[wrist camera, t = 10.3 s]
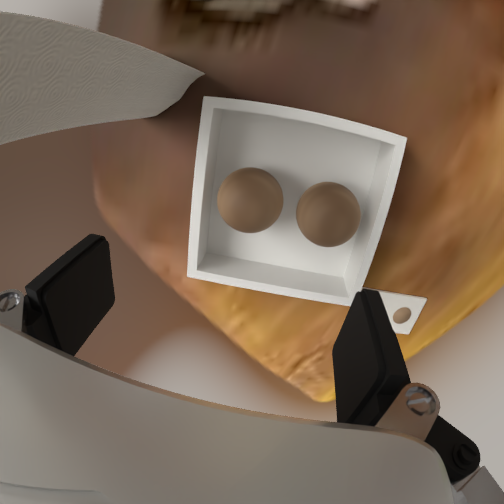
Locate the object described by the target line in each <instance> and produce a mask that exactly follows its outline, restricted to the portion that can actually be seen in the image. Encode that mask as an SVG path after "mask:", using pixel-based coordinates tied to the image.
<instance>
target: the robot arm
mask: <svg viewBox="0 0 504 504" xmlns="http://www.w3.org/2000/svg"><path fill="white" fill-rule="evenodd" d="M25 289H26V292H27V295H25V296H24V295H23V294H22V292H20V291H19V290H15V289H10V290H6V291H3V292H1V293H0V504H504V492H503V491H502V489H501V488H500V487H499V485H498V484H497V482H496V481H495V480H494V478H493V477H492V476H491V474H490V473H489V472H488V470H487V469H486V467H485V466H482V467H481V468H480V466H479V462H480V453H479V449H478V447H477V446H476V444H475V443H474V442H473V441H472V440H470V439H469V438H468V437H467V436H465V435H464V434H463V433H461V432H460V431H459V430H457V429H456V428H455V427H453V426H452V425H451V424H449V423H448V422H447V421H445V420H444V419H443V418H441V417H440V416H439V415H438V413H439V409H440V402H439V399H438V397H437V395H436V394H435V392H434V391H433V390H432V389H430V388H429V387H428V386H426V385H424V384H420V383H411V381H410V378H409V374H408V371H407V368H406V365H405V361H404V358H403V355H402V352H401V349H400V346H399V343H398V340H397V337H396V334H395V332H394V330H393V328H392V325H391V323H390V320H389V317H388V314H387V311H386V309H385V306H384V303H383V301H382V298H381V295H380V293H379V291H376V290H371V289H365V288H364V289H362V291H361V292H359V291H358V292H357V293H356V294H355V297H354V299H353V302H352V304H351V307H350V309H349V311H348V314H347V316H346V319H345V321H344V323H343V326H342V328H341V330H340V332H339V335H338V337H337V339H336V341H335V344H334V346H333V351H332V356H333V367H334V380H335V393H336V409H337V422H327V421H318V420H309V419H302V418H294V417H287V416H280V415H274V414H267V413H262V412H256V411H250V410H245V409H240V408H235V407H230V406H226V405H221V404H217V403H213V402H208V401H204V400H200V399H196V398H192V397H189V396H185V395H181V394H178V393H174V392H171V391H167V390H164V389H161V388H158V387H154V386H151V385H148V384H145V383H142V382H139V381H136V380H133V379H130V378H127V377H124V376H122V375H119V374H116V373H113V372H111V371H108V370H106V369H103V368H100V367H98V366H95V365H93V364H90V363H88V362H86V361H83V360H81V359H78V358H76V357H74V356H75V354H76V353H77V352H78V350H79V349H80V347H81V346H82V345H83V343H84V342H85V341H86V339H87V338H88V337H89V335H90V334H91V333H92V332H93V330H94V328H96V326H97V325H98V324H99V322H100V321H101V320H102V319H103V317H104V316H105V315H106V314H107V312H108V311H109V309H111V307H112V306H113V304H114V301H115V295H114V287H113V279H112V270H111V261H110V250H109V243H108V241H106V239H105V237H104V236H100V235H96V234H90V235H88V236H87V237H86V238H84V239H83V240H82V241H80V242H79V243H78V244H76V245H75V246H74V247H73V248H71V249H70V250H69V251H67V252H66V253H65V254H64V255H62V256H61V257H60V258H59V259H57V260H56V261H55V262H54V263H52V264H51V265H50V266H49V267H48V268H46V269H45V270H44V271H43V272H42V273H40V274H39V275H38V276H37V277H36V278H35V279H33V280H32V281H31V282H30V283H29V284H28V285H26V286H25Z"/></svg>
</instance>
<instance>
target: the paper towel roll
mask: <svg viewBox="0 0 504 504" xmlns="http://www.w3.org/2000/svg"><path fill="white" fill-rule="evenodd" d="M204 74H205V73H203V72H201V71H199V70H197V69H195V68H192V67H190V66H188V65H186V64H183V63H181V62H179V61H177V60H174V59H172V58H169V57H167V56H165V55H162V54H160V53H158V52H155V51H152V50H150V49H147V48H145V47H142V46H139V45H137V44H134V43H131V42H128V41H125V40H122V39H119V38H116V37H113V36H110V35H107V34H104V33H101V32H97V31H94V30H90V29H87V28H83V27H79V26H75V25H72V24H68V23H63V22H59V21H55V20H50V19H45V18H40V17H35V16H29V15H22V14H16V13H8V12H0V144H4V143H7V142H11V141H14V140H19V139H22V138H26V137H30V136H35V135H38V134H43V133H48V132H52V131H57V130H62V129H68V128H73V127H79V126H85V125H91V124H98V123H105V122H112V121H120V120H129V119H139V118H147V117H153V116H157V115H158V114H160V113H161V112H163V111H164V110H166V109H167V108H169V107H170V106H171V105H173V104H174V103H175V102H177V101H178V100H180V98H181V97H182V96H183V94H184V93H185V91H186V90H187V88H188V87H189V85H190V84H192V83H193V82H194V81H195V80H196V79H197V78H198V77H200V76H202V75H204Z"/></svg>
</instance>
